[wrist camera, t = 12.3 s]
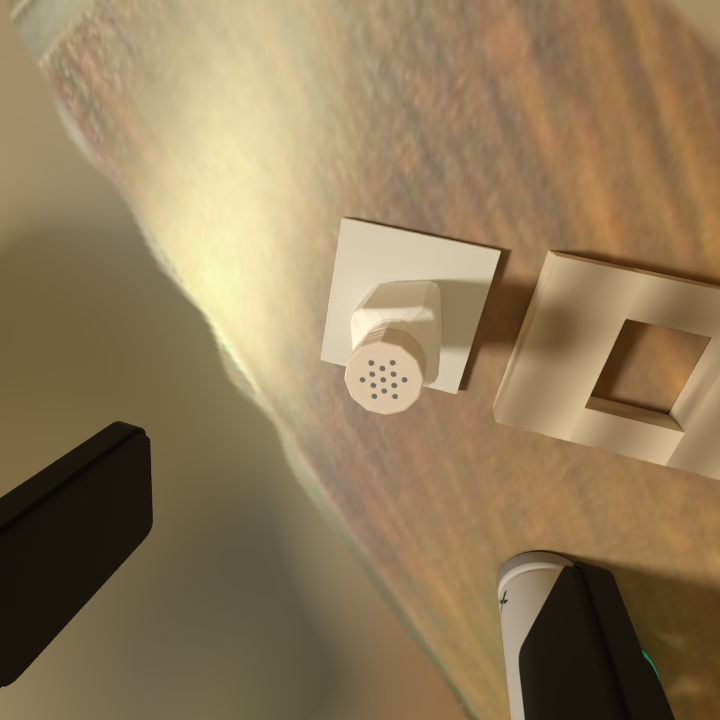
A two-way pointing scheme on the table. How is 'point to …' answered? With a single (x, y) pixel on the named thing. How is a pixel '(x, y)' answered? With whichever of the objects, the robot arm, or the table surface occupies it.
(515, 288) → the table surface
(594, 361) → the socket block
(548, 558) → the travel mug
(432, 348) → the pepper shaker
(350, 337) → the beige mat
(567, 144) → the table surface
